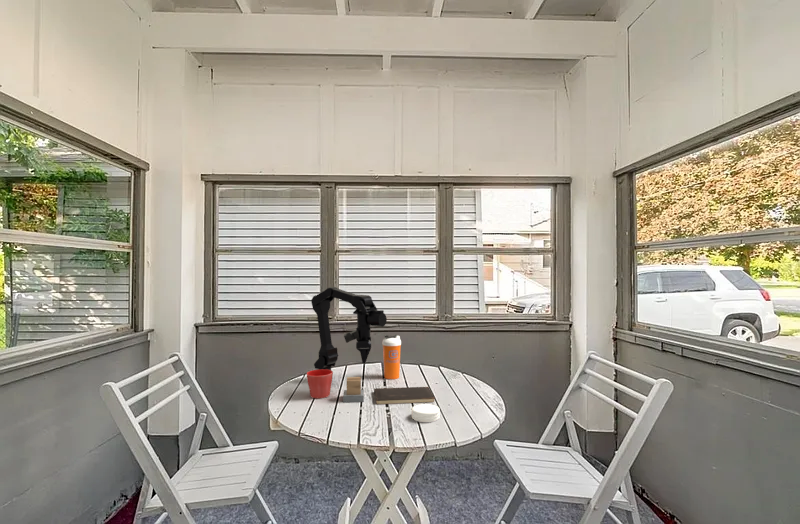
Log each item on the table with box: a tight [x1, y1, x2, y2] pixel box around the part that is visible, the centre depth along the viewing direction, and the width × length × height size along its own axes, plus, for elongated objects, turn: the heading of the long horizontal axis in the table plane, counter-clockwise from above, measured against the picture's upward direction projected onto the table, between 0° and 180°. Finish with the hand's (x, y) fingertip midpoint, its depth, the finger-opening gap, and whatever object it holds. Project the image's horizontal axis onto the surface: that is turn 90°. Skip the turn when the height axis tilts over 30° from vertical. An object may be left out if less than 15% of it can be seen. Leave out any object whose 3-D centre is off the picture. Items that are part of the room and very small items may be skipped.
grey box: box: [342, 389, 365, 403], centre depth 180 cm, size 8×8×2 cm
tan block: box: [346, 376, 362, 395], centre depth 180 cm, size 6×6×6 cm
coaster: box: [411, 403, 441, 423], centre depth 159 cm, size 10×10×4 cm
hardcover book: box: [373, 386, 436, 405], centre depth 182 cm, size 16×23×2 cm
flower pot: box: [306, 369, 334, 400], centre depth 184 cm, size 11×11×10 cm
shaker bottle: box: [381, 333, 402, 380], centre depth 212 cm, size 9×9×20 cm
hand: (363, 360), depth 194 cm, fingers open, 9 cm apart
